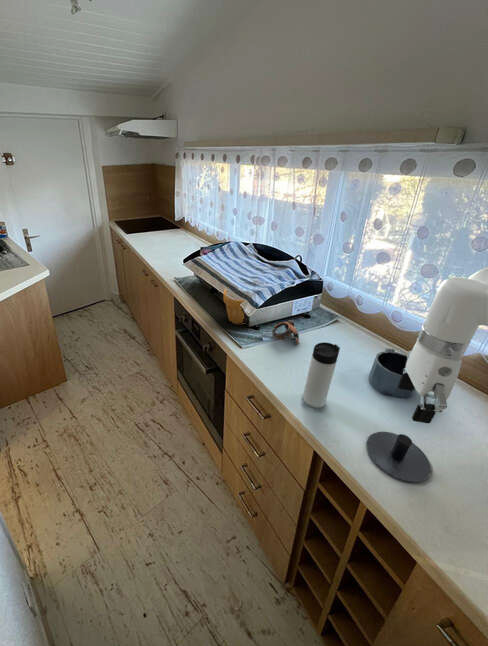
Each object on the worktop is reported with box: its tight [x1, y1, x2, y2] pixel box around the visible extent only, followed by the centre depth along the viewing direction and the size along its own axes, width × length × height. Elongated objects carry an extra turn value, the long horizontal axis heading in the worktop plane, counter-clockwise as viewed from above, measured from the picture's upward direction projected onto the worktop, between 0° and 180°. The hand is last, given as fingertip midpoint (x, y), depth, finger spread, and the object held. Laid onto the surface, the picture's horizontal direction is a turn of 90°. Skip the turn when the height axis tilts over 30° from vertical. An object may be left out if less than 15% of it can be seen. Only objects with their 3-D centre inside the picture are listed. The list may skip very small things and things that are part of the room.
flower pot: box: [223, 288, 246, 325], centre depth 131 cm, size 14×14×13 cm
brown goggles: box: [271, 319, 300, 345], centre depth 119 cm, size 12×10×8 cm
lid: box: [365, 431, 432, 484], centre depth 73 cm, size 13×13×7 cm
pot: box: [368, 347, 417, 400], centre depth 95 cm, size 12×18×8 cm
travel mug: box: [302, 342, 341, 410], centre depth 87 cm, size 6×7×20 cm
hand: (412, 404), depth 68 cm, fingers open, 9 cm apart
